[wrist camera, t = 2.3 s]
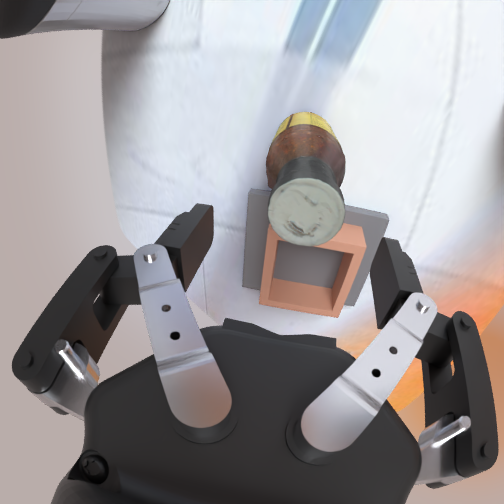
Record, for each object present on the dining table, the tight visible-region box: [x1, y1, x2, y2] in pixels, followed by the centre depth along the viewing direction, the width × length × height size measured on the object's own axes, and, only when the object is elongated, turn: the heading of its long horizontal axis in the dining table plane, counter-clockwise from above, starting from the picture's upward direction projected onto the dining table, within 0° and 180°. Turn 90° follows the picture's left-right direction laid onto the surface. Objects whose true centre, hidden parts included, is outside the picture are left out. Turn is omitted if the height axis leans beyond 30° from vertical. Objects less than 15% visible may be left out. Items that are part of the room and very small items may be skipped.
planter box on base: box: [242, 189, 389, 318], centre depth 37 cm, size 18×16×6 cm
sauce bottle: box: [266, 112, 345, 247], centre depth 22 cm, size 6×6×20 cm
